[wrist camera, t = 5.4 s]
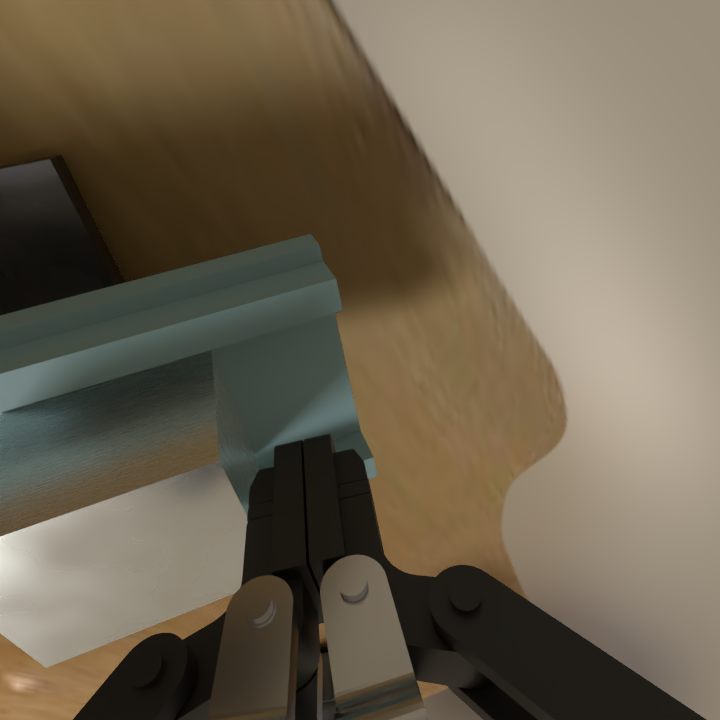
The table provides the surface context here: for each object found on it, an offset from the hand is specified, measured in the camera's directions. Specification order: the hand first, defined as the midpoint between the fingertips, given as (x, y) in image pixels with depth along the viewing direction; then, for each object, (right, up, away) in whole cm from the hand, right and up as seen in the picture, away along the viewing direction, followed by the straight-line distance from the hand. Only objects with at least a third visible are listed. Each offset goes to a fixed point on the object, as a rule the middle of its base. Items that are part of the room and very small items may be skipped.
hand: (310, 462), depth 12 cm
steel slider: (-6, 0, +2) cm, 6 cm away
